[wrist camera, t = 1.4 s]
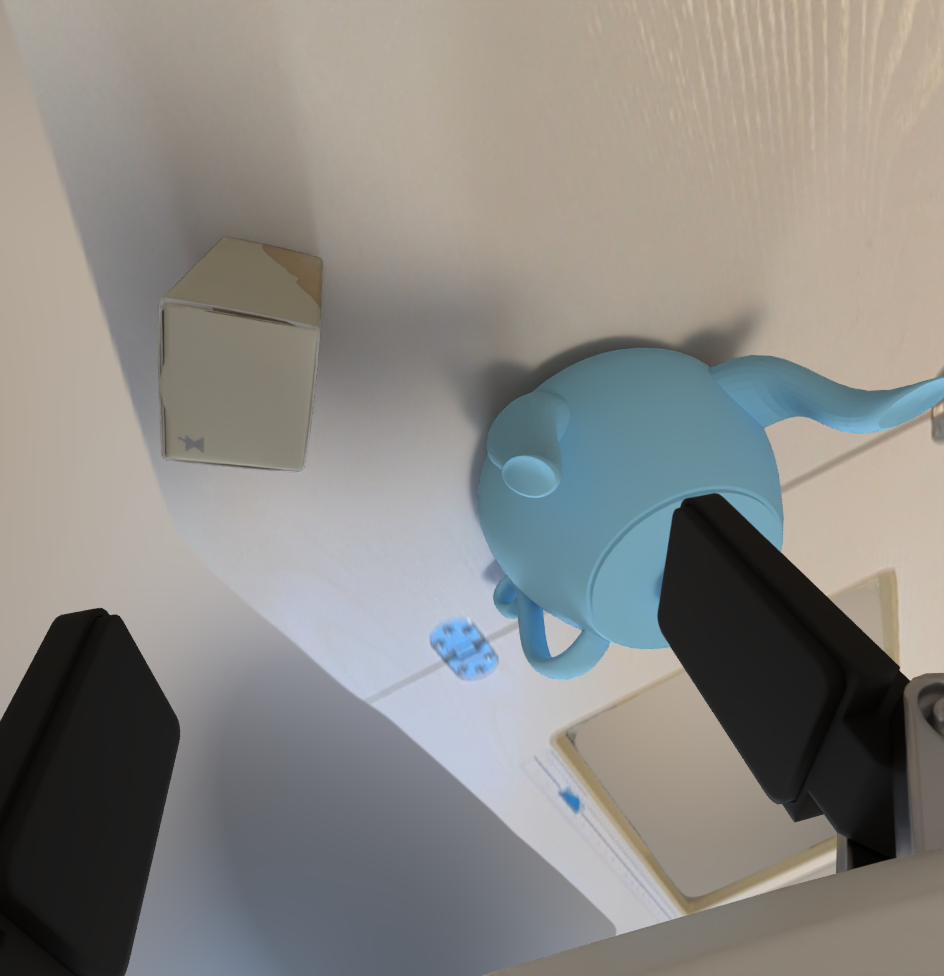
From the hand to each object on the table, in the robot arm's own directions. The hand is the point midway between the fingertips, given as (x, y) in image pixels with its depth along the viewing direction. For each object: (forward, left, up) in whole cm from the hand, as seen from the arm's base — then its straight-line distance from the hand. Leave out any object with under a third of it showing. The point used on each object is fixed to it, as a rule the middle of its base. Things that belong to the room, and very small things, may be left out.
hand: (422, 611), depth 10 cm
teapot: (+15, -8, -21) cm, 27 cm away
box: (-4, 0, -21) cm, 21 cm away
